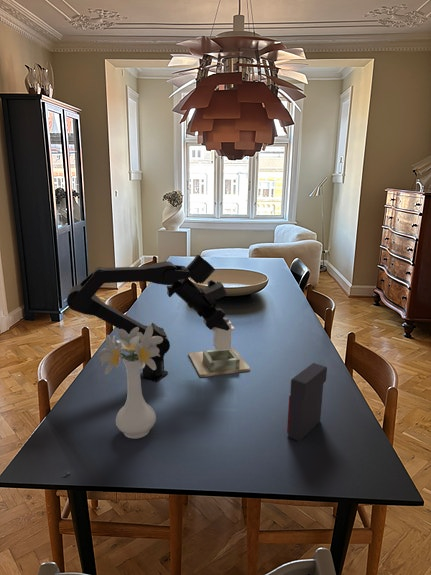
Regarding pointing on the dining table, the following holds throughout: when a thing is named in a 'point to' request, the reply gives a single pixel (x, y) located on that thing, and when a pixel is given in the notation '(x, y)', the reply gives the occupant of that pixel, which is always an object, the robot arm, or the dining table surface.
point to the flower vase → (133, 377)
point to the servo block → (222, 337)
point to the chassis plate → (218, 362)
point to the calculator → (305, 401)
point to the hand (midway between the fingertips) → (226, 326)
